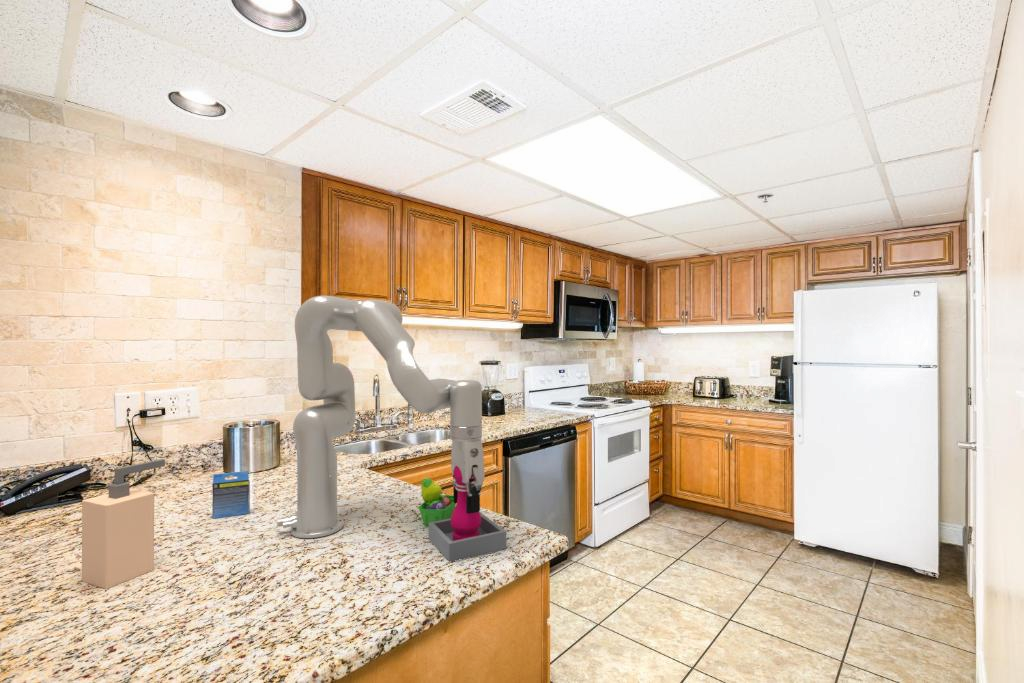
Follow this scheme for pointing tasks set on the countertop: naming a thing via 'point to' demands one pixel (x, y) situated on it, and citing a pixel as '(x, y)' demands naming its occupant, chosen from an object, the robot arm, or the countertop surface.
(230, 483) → the label tape box
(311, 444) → the robot arm
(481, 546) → the tray
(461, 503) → the pepper mill
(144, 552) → the soap dispenser
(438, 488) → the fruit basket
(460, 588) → the countertop surface
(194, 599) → the countertop surface
